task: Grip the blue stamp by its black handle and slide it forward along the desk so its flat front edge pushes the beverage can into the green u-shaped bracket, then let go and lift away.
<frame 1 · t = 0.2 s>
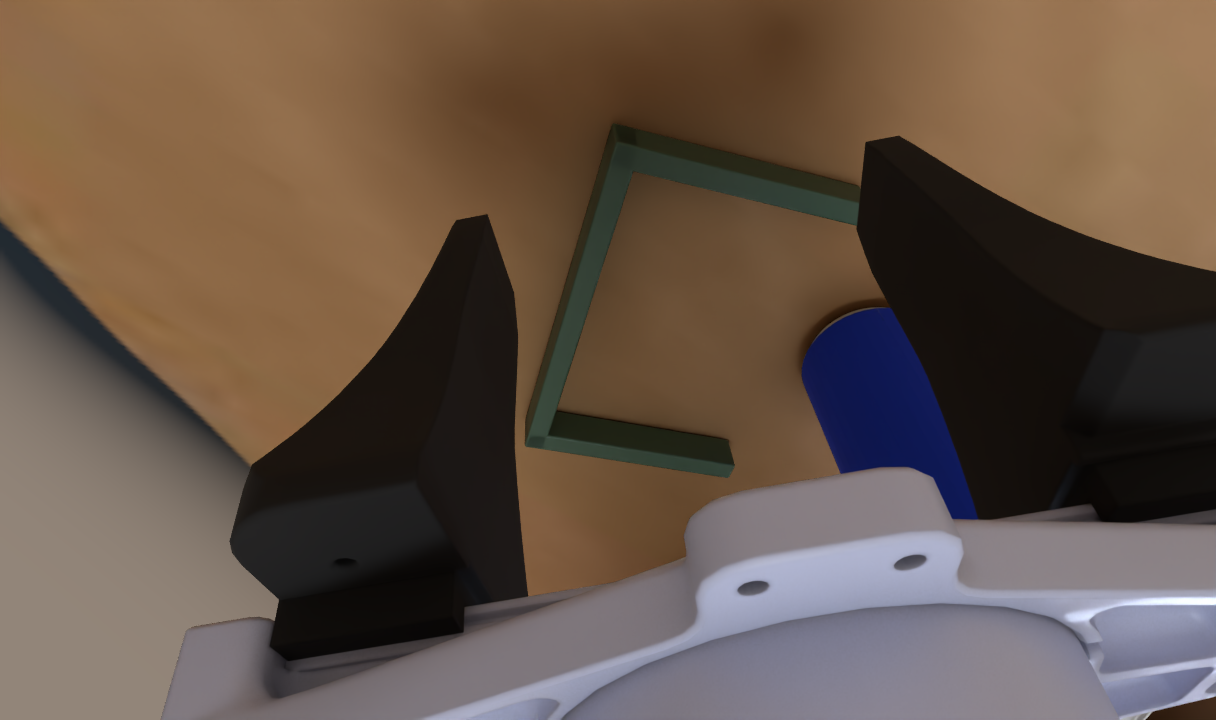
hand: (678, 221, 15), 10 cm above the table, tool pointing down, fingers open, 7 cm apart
green u-shaped bracket: (686, 316, 29), on the table
beverage can: (859, 349, 31), on the table
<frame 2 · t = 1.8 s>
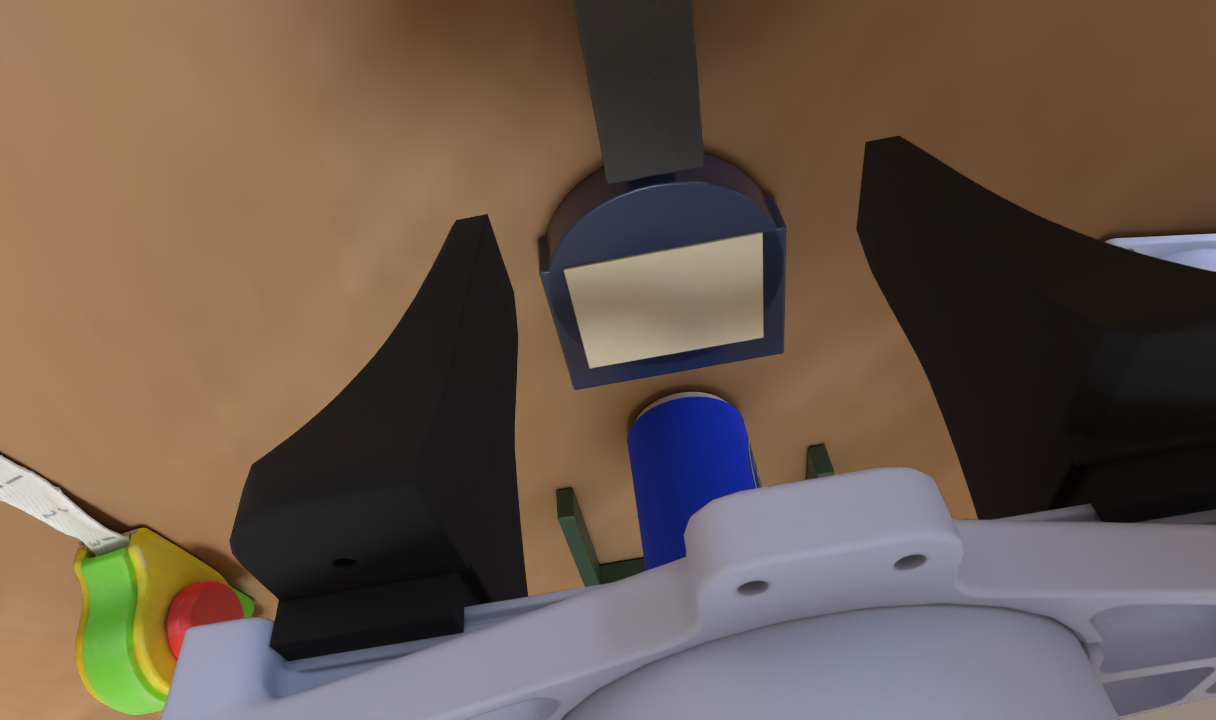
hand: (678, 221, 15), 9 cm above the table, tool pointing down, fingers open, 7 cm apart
green u-shaped bracket: (695, 510, 39), on the table
blue stamp: (663, 282, 28), on the table
beverage can: (682, 419, 34), on the table
toy measuring tape: (127, 538, 37), on the table
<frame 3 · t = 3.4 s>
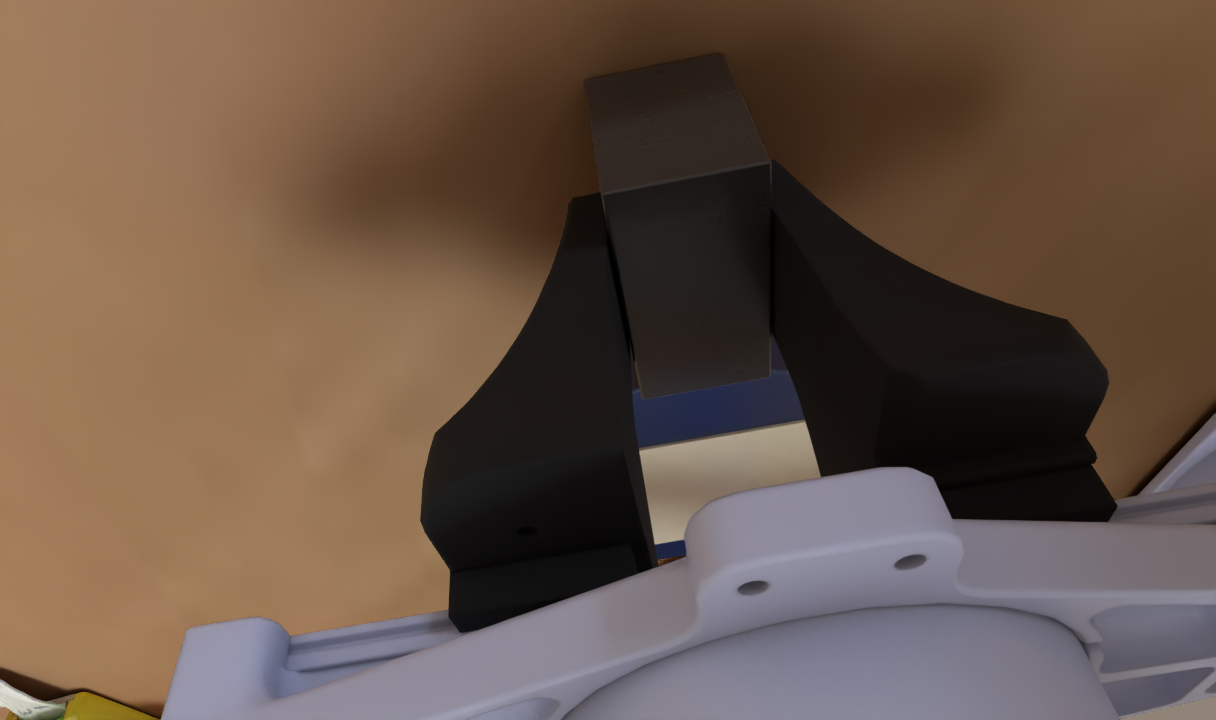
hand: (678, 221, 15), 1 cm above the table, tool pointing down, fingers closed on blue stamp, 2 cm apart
blue stamp: (698, 447, 23), on the table, touching gripper
toy measuring tape: (66, 699, 32), on the table
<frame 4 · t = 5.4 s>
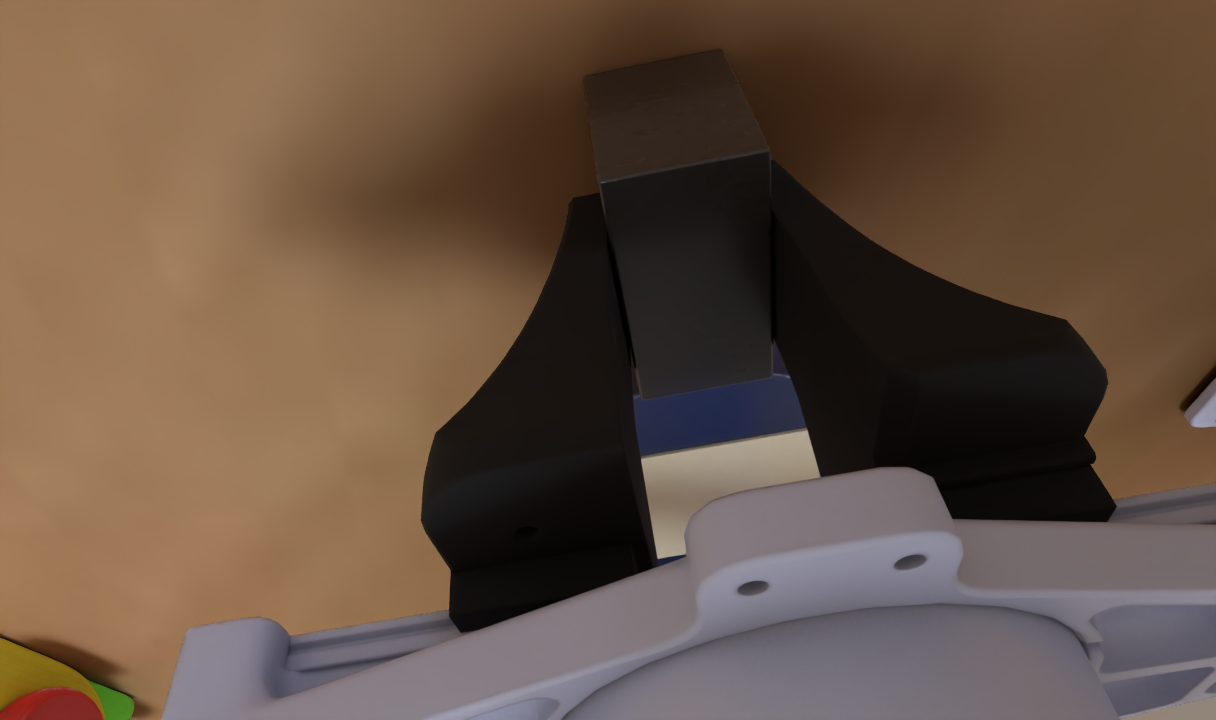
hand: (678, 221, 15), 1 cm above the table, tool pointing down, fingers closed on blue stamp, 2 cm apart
blue stamp: (701, 460, 22), on the table, touching beverage can, gripper
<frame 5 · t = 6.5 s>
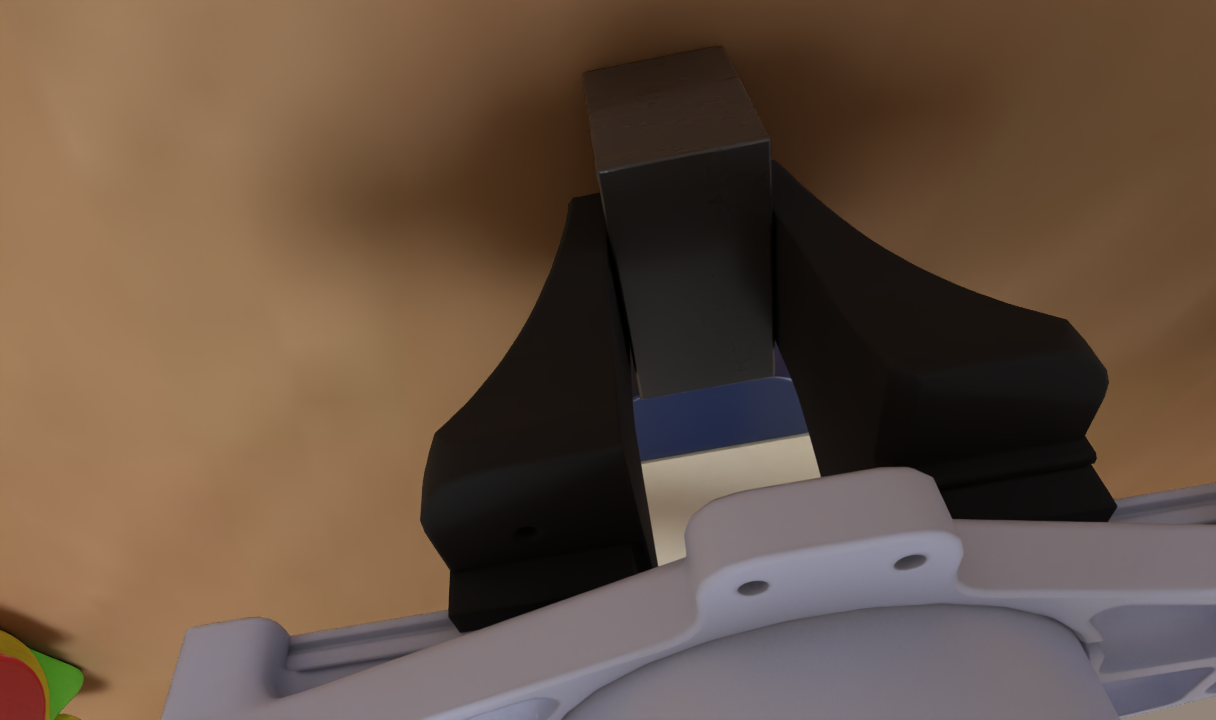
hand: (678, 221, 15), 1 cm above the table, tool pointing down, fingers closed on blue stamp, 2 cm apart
blue stamp: (703, 467, 22), point 1 cm above the table, touching beverage can, gripper
when the fingers open (1 cm above the table, at t = 6.8 s): blue stamp stays where it is, on the table.
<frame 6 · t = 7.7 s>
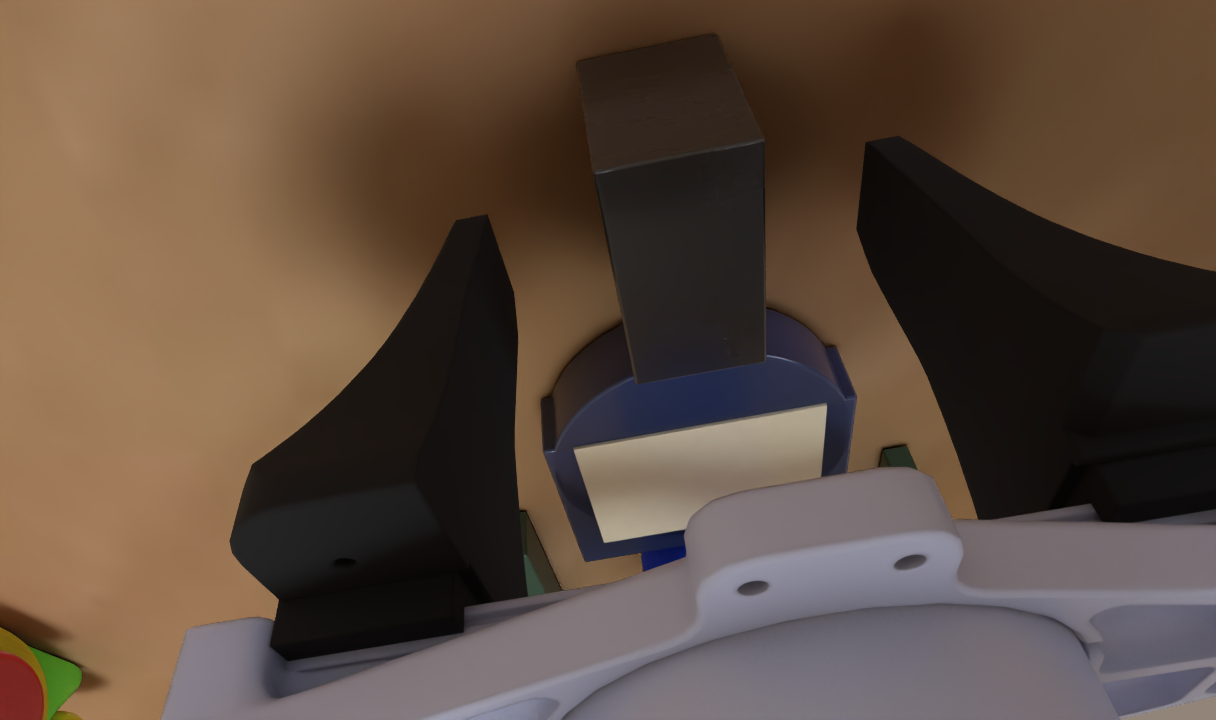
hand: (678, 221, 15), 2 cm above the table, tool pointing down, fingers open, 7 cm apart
green u-shaped bracket: (709, 541, 27), on the table
blue stamp: (694, 438, 23), on the table
beverage can: (711, 527, 27), on the table
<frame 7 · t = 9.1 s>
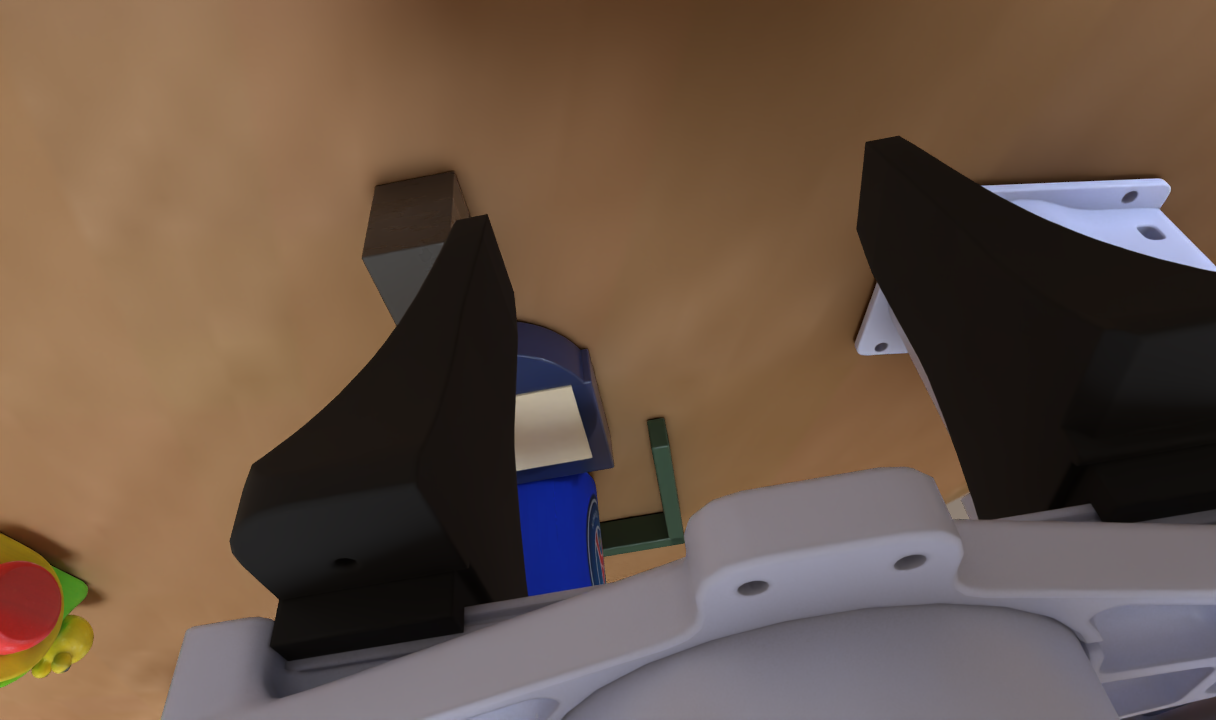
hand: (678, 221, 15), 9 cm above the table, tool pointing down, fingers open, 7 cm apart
green u-shaped bracket: (541, 489, 38), on the table
blue stamp: (508, 410, 33), on the table
beverage can: (541, 478, 37), on the table
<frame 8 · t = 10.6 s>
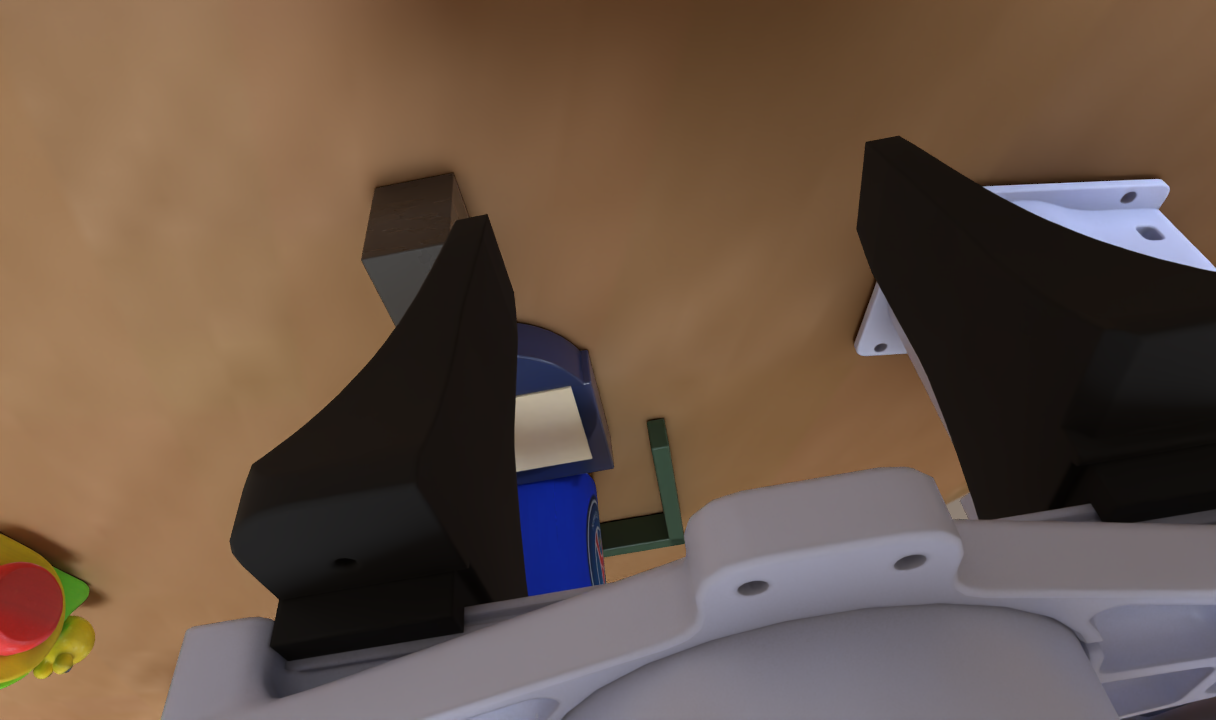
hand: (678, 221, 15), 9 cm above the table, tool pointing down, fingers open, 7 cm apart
green u-shaped bracket: (541, 489, 38), on the table
blue stamp: (508, 411, 33), on the table
beverage can: (542, 479, 37), on the table
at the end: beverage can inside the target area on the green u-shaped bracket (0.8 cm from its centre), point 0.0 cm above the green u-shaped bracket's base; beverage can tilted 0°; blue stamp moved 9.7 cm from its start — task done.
